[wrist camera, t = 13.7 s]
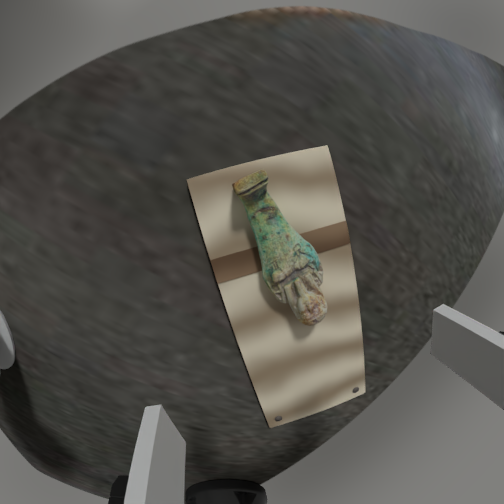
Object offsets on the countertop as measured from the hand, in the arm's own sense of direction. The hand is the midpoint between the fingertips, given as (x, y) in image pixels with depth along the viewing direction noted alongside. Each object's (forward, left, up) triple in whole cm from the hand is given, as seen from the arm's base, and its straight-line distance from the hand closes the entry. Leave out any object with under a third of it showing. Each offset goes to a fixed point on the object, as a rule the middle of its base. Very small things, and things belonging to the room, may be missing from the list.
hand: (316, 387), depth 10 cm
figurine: (+2, -3, -17) cm, 17 cm away
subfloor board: (-5, -3, -17) cm, 18 cm away
